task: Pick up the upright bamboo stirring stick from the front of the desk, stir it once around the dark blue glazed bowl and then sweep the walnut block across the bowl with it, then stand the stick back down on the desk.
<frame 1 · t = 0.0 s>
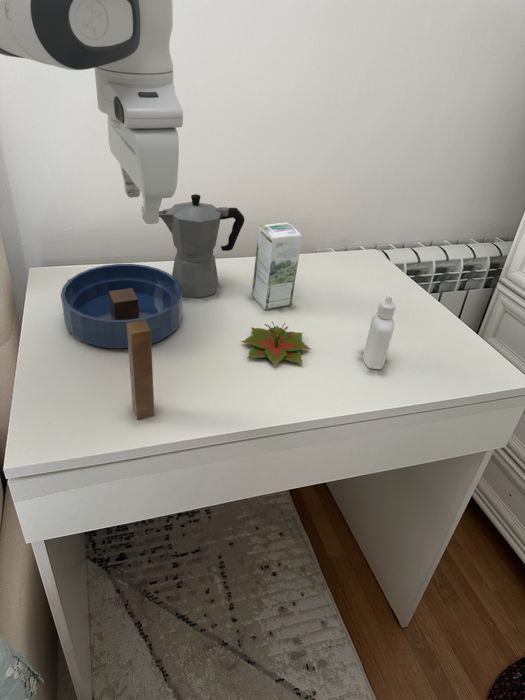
hand: (141, 208, 71), 23 cm above the table, tool pointing down, fingers open, 8 cm apart
bowl: (125, 318, 91), on the table
coffeepot: (200, 287, 102), on the table
block: (124, 315, 91), point 1 cm above the table, touching bowl
syrup box: (271, 302, 100), on the table
stick: (143, 412, 73), on the table
eye dropper bottle: (373, 361, 87), on the table
lily flower: (275, 349, 88), on the table
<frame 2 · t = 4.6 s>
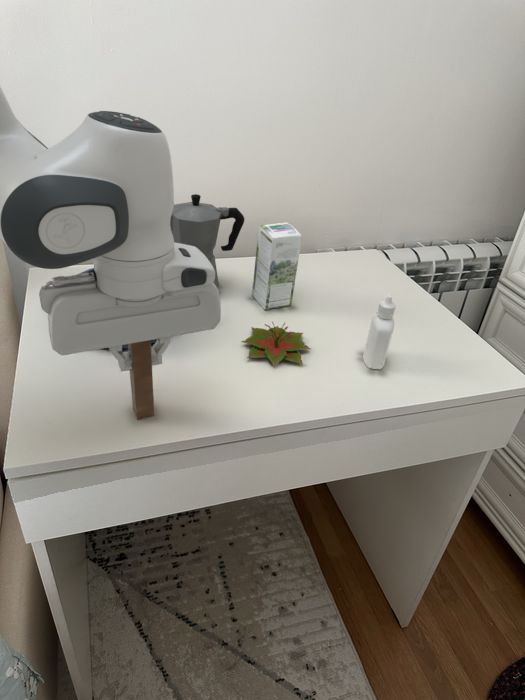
hand: (140, 365, 68), 8 cm above the table, tool pointing down, fingers closed on stick, 2 cm apart
stick: (143, 412, 73), on the table, touching gripper
everything else where it was.
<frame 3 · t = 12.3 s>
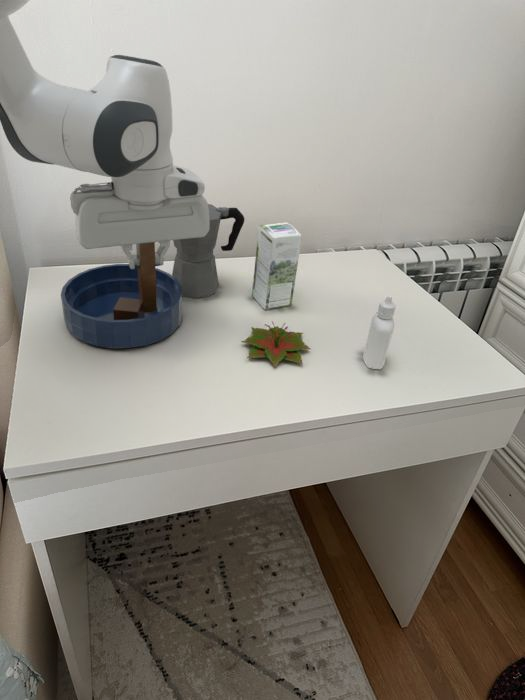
hand: (146, 265, 86), 10 cm above the table, tool pointing down, fingers closed on stick, 2 cm apart
block: (130, 325, 89), point 1 cm above the table, touching bowl
stick: (148, 308, 91), point 2 cm above the table, touching gripper
everything else where it was.
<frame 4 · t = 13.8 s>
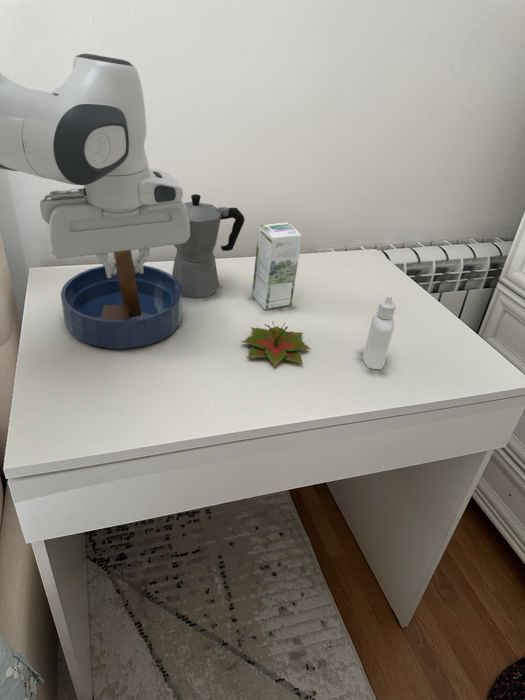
hand: (125, 274, 82), 10 cm above the table, tool pointing down, fingers closed on stick, 2 cm apart
block: (117, 332, 86), point 1 cm above the table, tilted 6°, touching bowl, stick
stick: (132, 312, 88), point 3 cm above the table, tilted 10°, touching block, gripper
everything else where it was.
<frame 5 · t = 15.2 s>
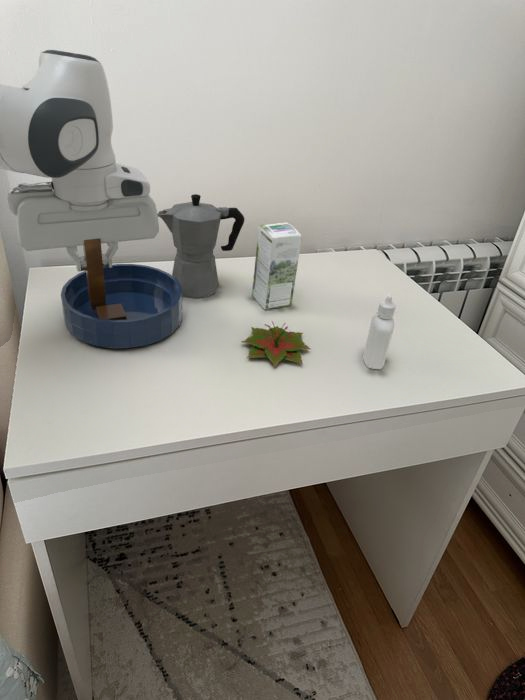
hand: (94, 268, 84), 10 cm above the table, tool pointing down, fingers closed on stick, 2 cm apart
block: (113, 332, 87), point 1 cm above the table, touching bowl
stick: (98, 304, 90), point 2 cm above the table, tilted 12°, touching gripper
everything else where it was.
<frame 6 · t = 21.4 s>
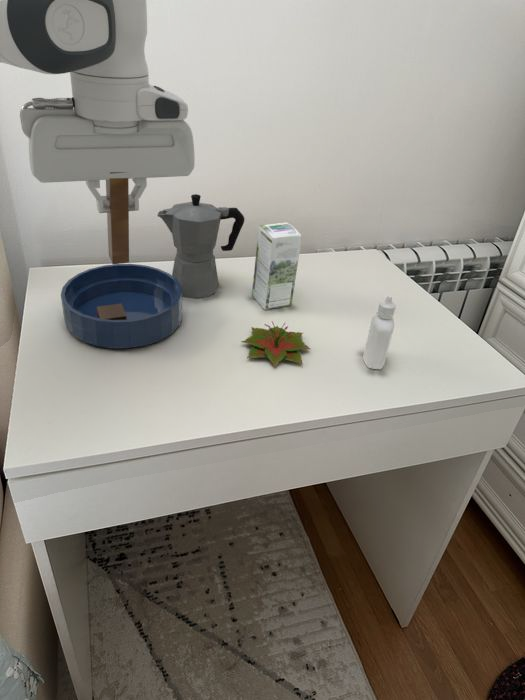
hand: (118, 210, 72), 23 cm above the table, tool pointing down, fingers closed on stick, 2 cm apart
stick: (118, 258, 77), point 15 cm above the table, tilted 9°, touching gripper
everything else where it was.
when the fingers open (8 cm above the table, at t = 26.1 s): stick moves 2 cm and tips over, point 1 cm above the table.
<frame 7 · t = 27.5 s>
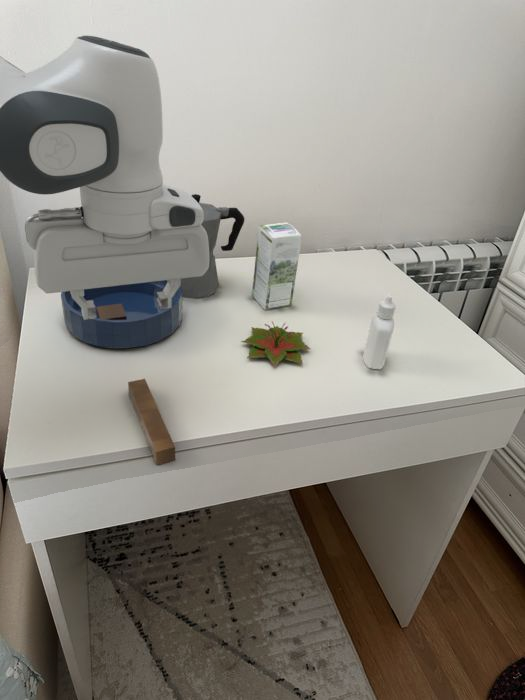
hand: (127, 311, 67), 14 cm above the table, tool pointing down, fingers open, 8 cm apart
stick: (136, 386, 75), point 1 cm above the table, tilted 90°
everything else where it was.
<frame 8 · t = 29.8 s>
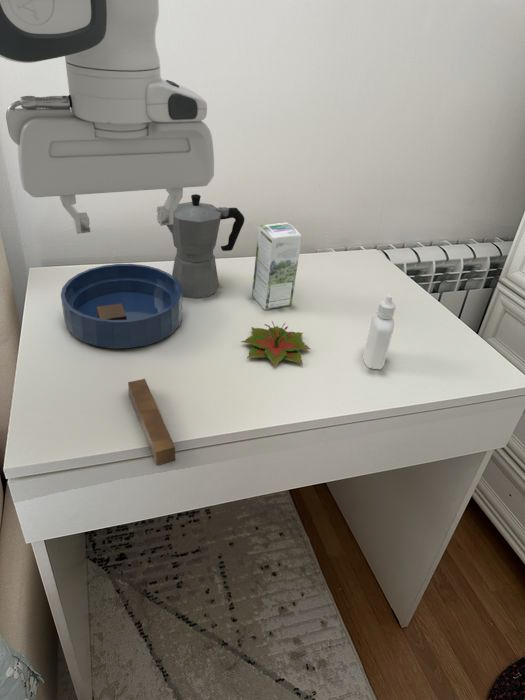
hand: (125, 227, 61), 25 cm above the table, tool pointing down, fingers open, 8 cm apart
nothing on the table moved.
at the end: block inside the target area in the bowl (5.3 cm from its centre), point 0.6 cm above the bowl's base; block moved 5.3 cm from its start; the gripper is holding nothing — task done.
